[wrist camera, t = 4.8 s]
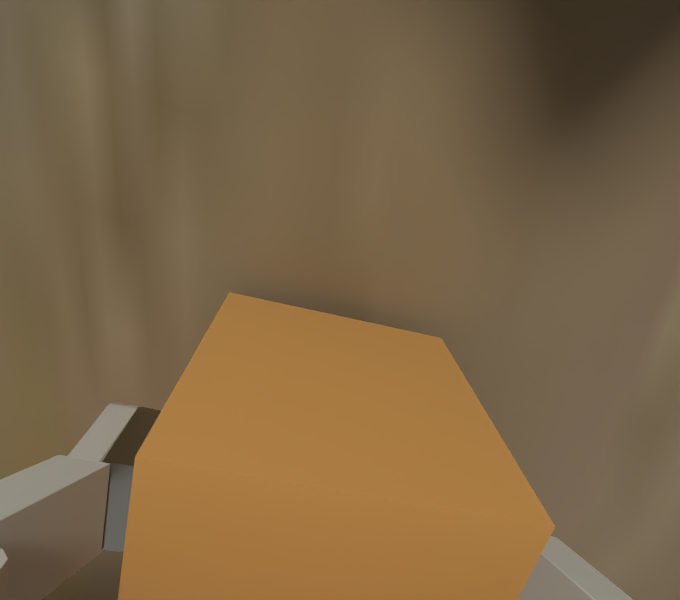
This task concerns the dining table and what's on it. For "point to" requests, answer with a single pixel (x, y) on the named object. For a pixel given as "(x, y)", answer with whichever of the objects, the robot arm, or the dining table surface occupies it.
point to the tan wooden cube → (325, 471)
